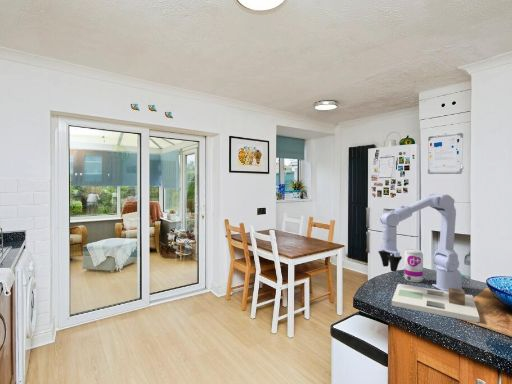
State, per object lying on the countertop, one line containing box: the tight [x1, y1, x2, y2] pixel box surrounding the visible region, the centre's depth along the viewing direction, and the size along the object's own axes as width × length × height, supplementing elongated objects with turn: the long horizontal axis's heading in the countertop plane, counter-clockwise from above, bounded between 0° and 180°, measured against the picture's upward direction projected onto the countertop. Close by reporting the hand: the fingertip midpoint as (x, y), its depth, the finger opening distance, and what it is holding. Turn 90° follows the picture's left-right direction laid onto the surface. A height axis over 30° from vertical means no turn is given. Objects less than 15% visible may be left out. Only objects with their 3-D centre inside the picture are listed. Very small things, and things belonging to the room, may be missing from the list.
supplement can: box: [403, 248, 424, 283], centre depth 145 cm, size 8×8×15 cm
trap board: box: [391, 283, 480, 323], centre depth 118 cm, size 28×23×2 cm
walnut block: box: [448, 288, 465, 306], centre depth 113 cm, size 5×5×4 cm
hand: (389, 268), depth 132 cm, fingers open, 7 cm apart
